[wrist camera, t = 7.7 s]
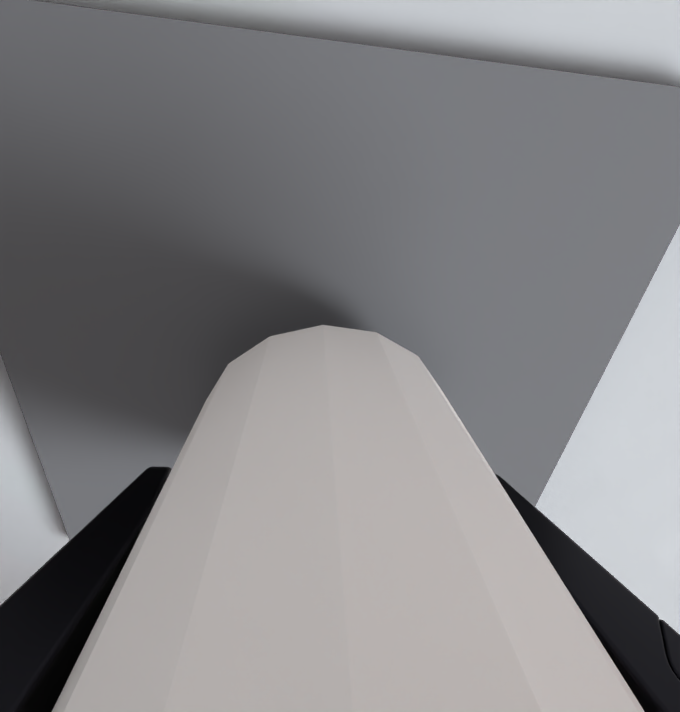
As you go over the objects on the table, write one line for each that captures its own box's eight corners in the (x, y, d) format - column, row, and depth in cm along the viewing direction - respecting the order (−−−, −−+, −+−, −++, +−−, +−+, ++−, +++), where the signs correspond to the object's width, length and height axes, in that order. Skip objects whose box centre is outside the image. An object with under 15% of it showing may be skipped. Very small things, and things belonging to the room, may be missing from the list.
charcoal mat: (495, 539, 17) (505, 563, 16) (92, 540, 15) (78, 566, 14) (704, 95, 9) (745, 95, 8) (-87, -10, 7) (-139, -23, 6)
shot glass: (114, 442, 10) (-190, 990, 4) (319, 221, 7) (371, 734, 1) (330, 556, 13) (351, 973, 7) (528, 421, 10) (835, 877, 4)
